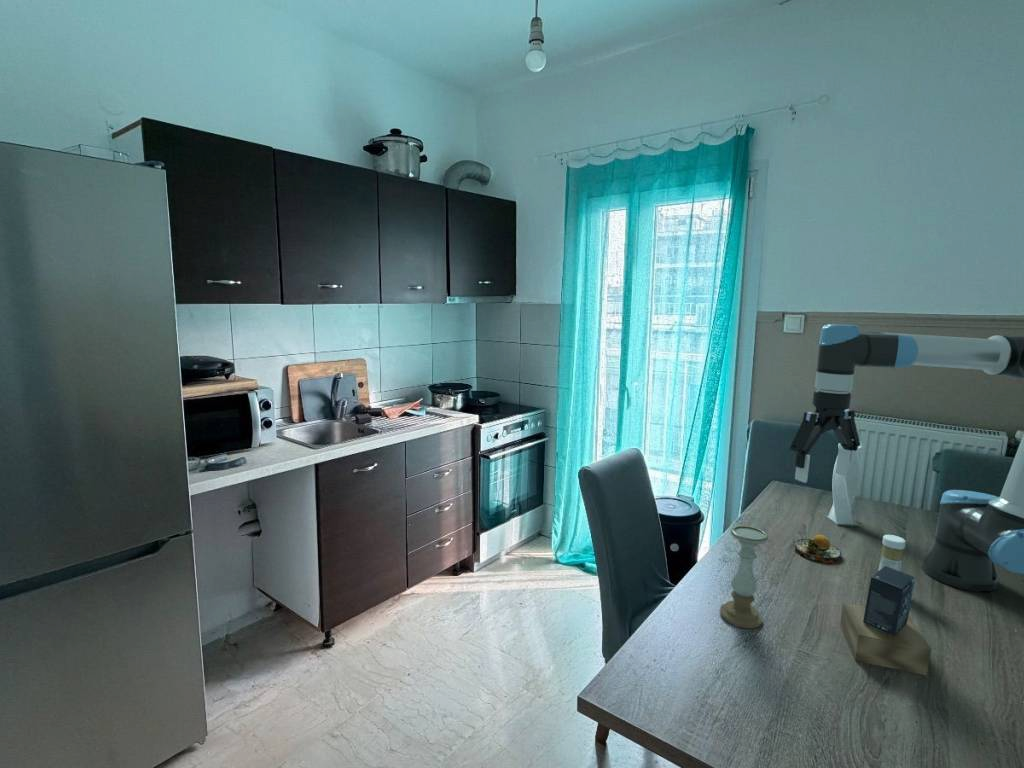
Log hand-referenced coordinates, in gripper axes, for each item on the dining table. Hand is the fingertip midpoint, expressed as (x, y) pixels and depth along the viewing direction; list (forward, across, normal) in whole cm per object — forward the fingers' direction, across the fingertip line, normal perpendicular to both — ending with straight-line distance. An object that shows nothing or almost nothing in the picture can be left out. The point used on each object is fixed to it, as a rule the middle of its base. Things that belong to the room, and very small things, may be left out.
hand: (821, 478), depth 128 cm
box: (+23, +6, +22) cm, 33 cm away
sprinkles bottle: (+29, -19, +6) cm, 35 cm away
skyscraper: (+29, -46, -26) cm, 61 cm away
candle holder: (+29, +25, +4) cm, 39 cm away
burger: (+29, -19, -13) cm, 37 cm away
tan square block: (+29, +6, +22) cm, 37 cm away
